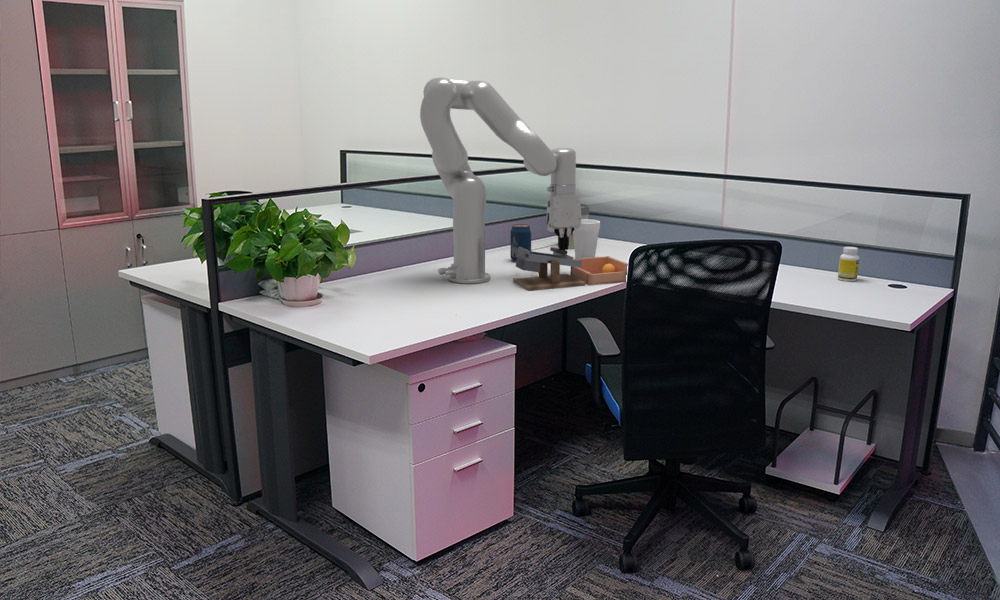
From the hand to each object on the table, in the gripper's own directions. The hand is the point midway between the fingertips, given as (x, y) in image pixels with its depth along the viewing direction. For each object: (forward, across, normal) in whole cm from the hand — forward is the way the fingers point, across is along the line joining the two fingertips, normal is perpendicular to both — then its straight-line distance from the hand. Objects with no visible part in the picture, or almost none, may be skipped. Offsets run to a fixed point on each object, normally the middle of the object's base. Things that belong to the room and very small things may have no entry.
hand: (563, 249), depth 255 cm
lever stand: (+8, -10, -10) cm, 16 cm away
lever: (+4, -10, -6) cm, 12 cm away
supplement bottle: (+10, +76, -38) cm, 86 cm away
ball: (+6, +10, -10) cm, 16 cm away
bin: (+8, +7, -10) cm, 15 cm away
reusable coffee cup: (+8, +23, +41) cm, 48 cm away
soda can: (+8, -4, +24) cm, 26 cm away
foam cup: (+8, +16, +18) cm, 26 cm away
